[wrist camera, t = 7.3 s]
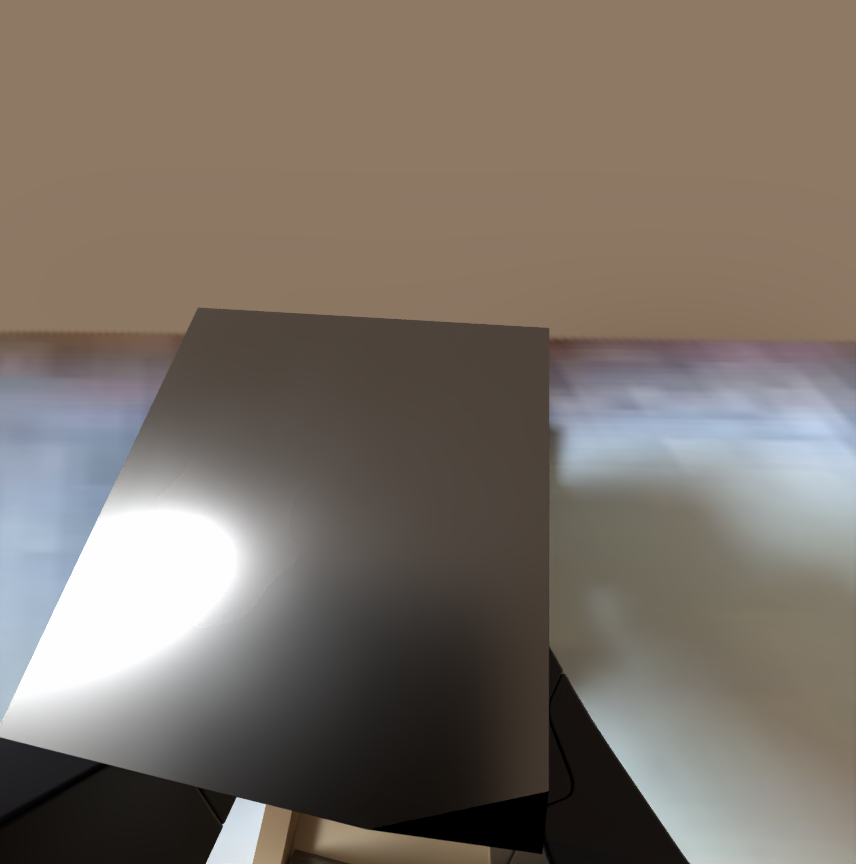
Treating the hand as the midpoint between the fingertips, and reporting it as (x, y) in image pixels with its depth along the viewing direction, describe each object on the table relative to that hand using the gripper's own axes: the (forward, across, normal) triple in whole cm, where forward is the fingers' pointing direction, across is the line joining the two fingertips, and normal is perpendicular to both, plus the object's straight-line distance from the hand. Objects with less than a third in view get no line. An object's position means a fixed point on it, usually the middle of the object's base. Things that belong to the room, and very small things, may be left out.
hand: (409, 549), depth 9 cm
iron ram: (+5, 0, +4) cm, 6 cm away
